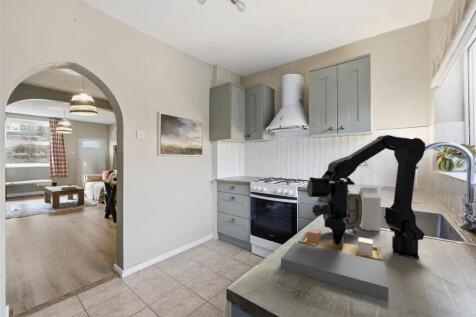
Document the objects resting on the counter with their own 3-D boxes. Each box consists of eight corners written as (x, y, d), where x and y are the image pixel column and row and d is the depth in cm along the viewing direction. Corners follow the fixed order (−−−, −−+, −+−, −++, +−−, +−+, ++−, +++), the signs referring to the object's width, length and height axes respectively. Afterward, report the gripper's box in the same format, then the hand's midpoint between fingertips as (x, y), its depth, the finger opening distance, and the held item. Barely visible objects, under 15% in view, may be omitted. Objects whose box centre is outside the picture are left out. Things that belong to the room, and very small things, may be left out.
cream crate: (372, 251, 70) (372, 239, 70) (372, 256, 67) (372, 243, 67) (358, 248, 72) (358, 237, 72) (358, 253, 69) (358, 241, 69)
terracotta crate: (320, 241, 79) (320, 230, 79) (318, 244, 75) (318, 233, 75) (309, 238, 81) (309, 228, 81) (306, 242, 77) (306, 231, 77)
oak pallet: (380, 256, 72) (380, 229, 71) (381, 269, 63) (382, 239, 63) (305, 240, 85) (305, 217, 85) (297, 249, 76) (298, 224, 76)
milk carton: (380, 231, 95) (380, 189, 95) (362, 230, 96) (363, 188, 96) (373, 226, 102) (374, 186, 101) (357, 225, 103) (357, 186, 103)
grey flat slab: (384, 272, 61) (384, 262, 61) (388, 300, 49) (388, 287, 49) (294, 250, 75) (295, 242, 75) (280, 268, 63) (281, 258, 63)
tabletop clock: (338, 240, 84) (339, 177, 84) (320, 233, 92) (321, 175, 92) (361, 234, 91) (362, 176, 90) (343, 228, 99) (343, 174, 98)
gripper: (319, 191, 86) (319, 229, 86) (308, 199, 70) (307, 246, 70) (350, 194, 80) (350, 235, 80) (346, 203, 64) (345, 254, 64)
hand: (338, 242), depth 74 cm, fingers open, 5 cm apart
